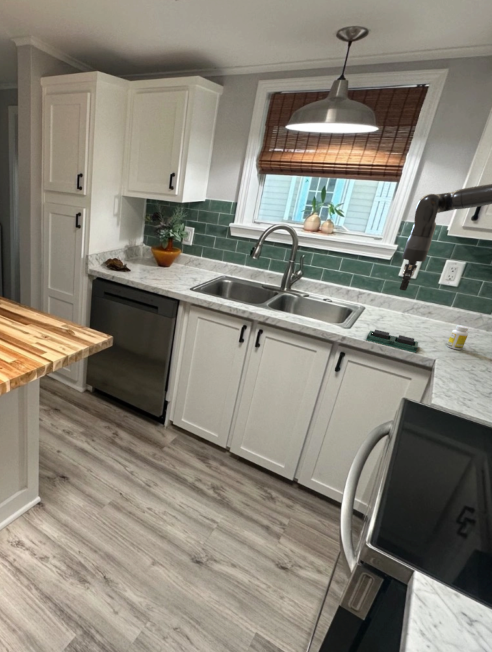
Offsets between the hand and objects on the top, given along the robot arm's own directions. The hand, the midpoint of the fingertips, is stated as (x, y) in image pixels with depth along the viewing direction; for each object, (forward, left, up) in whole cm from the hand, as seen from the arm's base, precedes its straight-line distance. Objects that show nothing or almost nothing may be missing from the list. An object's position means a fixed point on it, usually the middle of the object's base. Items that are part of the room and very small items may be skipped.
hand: (403, 288), depth 164 cm
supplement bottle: (-24, -26, -26) cm, 44 cm away
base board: (-2, -8, -26) cm, 27 cm away
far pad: (+3, -8, -25) cm, 26 cm away
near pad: (-6, -8, -25) cm, 27 cm away
